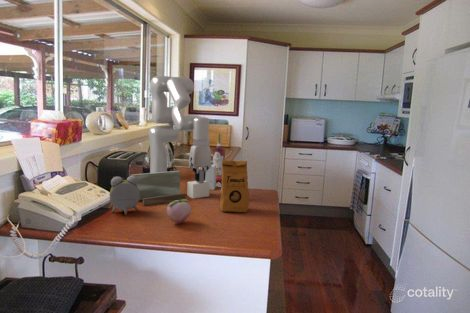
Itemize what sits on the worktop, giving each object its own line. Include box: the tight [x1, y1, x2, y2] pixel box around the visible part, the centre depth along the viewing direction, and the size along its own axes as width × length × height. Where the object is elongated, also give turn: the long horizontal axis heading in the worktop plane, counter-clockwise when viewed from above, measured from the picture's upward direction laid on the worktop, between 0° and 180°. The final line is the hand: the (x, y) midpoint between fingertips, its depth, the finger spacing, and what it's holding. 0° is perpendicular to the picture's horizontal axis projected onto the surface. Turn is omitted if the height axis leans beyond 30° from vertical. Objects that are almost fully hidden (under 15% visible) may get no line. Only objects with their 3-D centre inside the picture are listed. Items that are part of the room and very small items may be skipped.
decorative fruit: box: [166, 198, 192, 224], centre depth 130 cm, size 9×8×10 cm
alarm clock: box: [109, 175, 140, 216], centre depth 140 cm, size 12×7×15 cm, turn 111°
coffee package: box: [219, 159, 250, 213], centre depth 148 cm, size 10×12×22 cm
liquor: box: [212, 133, 226, 183], centre depth 204 cm, size 7×7×28 cm
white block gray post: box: [186, 169, 210, 199], centre depth 170 cm, size 6×9×13 cm, turn 125°
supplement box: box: [200, 163, 217, 191], centre depth 187 cm, size 7×7×13 cm
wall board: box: [130, 170, 186, 207], centre depth 161 cm, size 11×24×12 cm, turn 125°
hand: (200, 180), depth 169 cm, fingers closed on white block gray post
